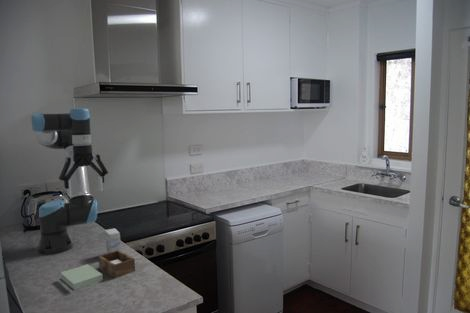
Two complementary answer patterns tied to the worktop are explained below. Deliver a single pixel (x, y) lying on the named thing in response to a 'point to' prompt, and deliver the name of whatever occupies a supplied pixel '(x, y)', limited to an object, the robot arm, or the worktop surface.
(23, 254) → the worktop surface
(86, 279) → the lid
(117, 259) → the soap bar
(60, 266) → the worktop surface
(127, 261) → the box
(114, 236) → the ink box
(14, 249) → the worktop surface
